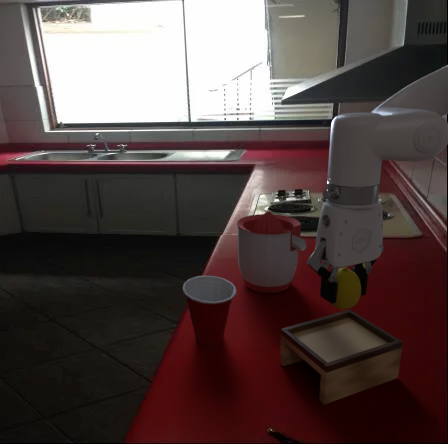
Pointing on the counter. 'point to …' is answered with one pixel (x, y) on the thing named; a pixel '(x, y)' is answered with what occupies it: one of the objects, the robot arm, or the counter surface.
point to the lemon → (347, 289)
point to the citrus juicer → (268, 251)
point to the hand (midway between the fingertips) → (342, 295)
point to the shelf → (343, 353)
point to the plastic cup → (209, 306)
